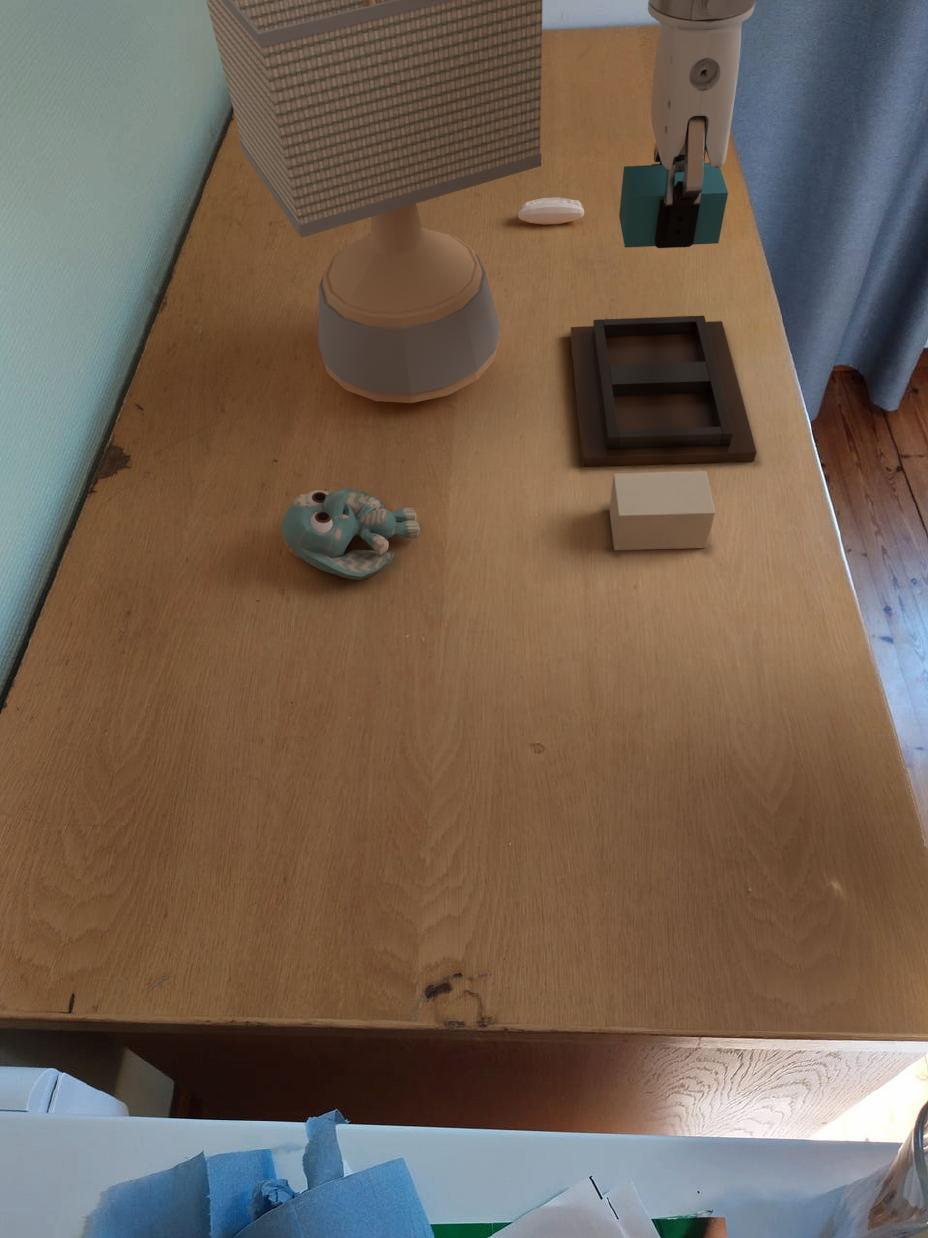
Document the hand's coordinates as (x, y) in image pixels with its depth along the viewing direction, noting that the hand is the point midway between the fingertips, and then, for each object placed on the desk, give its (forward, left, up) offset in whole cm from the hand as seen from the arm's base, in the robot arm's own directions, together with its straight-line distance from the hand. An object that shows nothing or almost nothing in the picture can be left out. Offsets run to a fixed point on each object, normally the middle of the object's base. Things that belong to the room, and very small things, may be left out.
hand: (669, 224), depth 78 cm
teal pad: (0, 0, 0) cm, 0 cm away
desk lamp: (+24, -5, -17) cm, 30 cm away
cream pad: (+1, +20, -17) cm, 26 cm away
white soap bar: (+8, -31, -17) cm, 36 cm away
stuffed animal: (+28, +21, -17) cm, 39 cm away
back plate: (-1, +2, -17) cm, 17 cm away
